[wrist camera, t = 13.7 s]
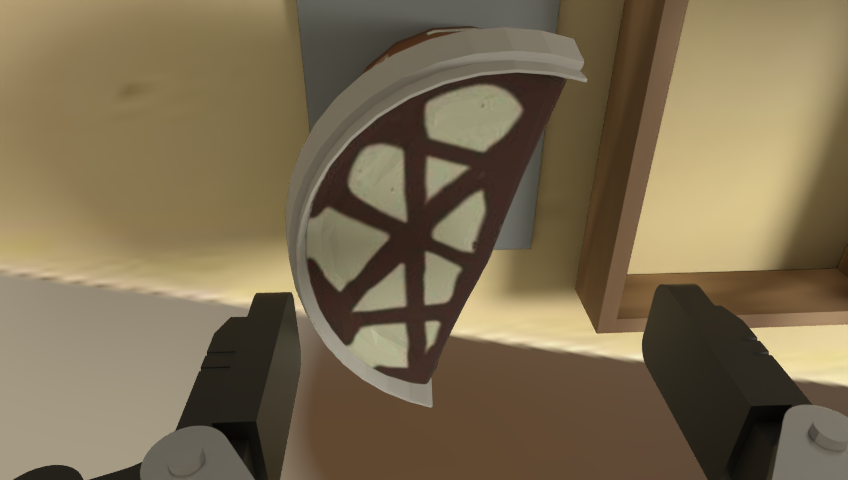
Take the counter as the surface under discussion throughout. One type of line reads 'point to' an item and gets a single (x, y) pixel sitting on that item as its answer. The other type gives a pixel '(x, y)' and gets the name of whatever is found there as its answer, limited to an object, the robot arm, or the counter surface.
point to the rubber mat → (399, 19)
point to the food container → (416, 191)
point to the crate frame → (625, 189)
